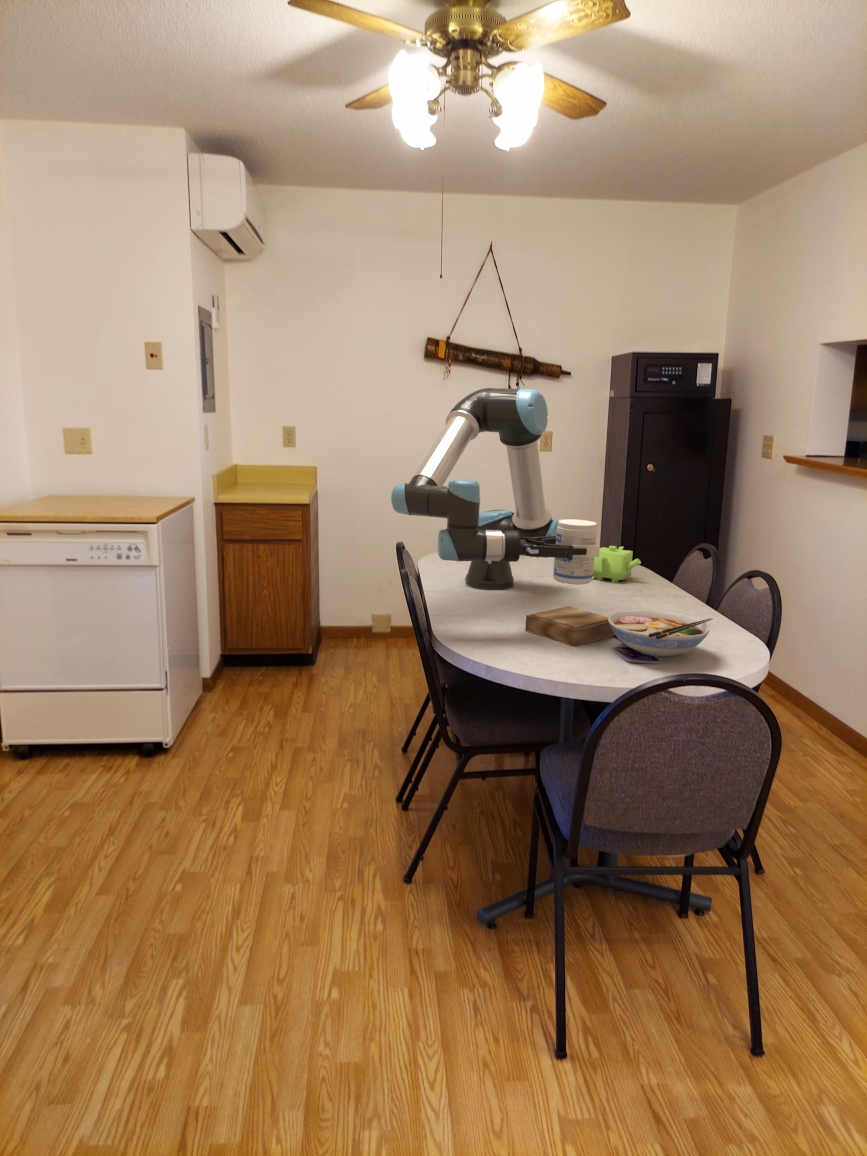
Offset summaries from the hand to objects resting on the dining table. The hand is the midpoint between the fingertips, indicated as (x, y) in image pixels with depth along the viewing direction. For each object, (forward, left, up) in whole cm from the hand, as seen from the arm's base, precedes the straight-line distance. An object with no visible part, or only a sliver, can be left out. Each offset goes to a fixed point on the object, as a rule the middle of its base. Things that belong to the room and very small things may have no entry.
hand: (593, 547), depth 188 cm
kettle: (-36, +57, -22) cm, 71 cm away
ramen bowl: (+20, +1, -22) cm, 30 cm away
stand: (-2, -3, -22) cm, 22 cm away
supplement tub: (-3, -4, -9) cm, 10 cm away
